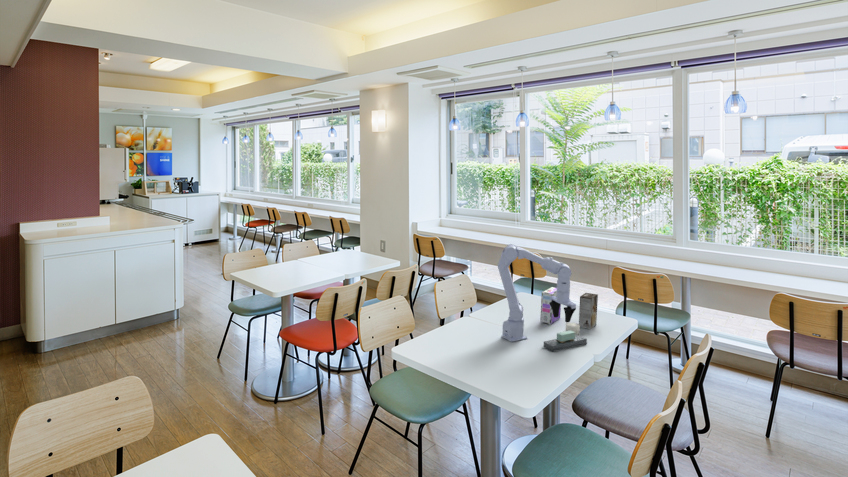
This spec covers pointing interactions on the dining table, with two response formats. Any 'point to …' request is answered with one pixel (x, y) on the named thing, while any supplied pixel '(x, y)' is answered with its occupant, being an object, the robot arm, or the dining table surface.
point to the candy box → (548, 306)
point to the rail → (555, 345)
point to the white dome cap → (573, 327)
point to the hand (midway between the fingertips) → (561, 319)
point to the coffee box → (588, 310)
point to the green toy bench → (565, 336)
